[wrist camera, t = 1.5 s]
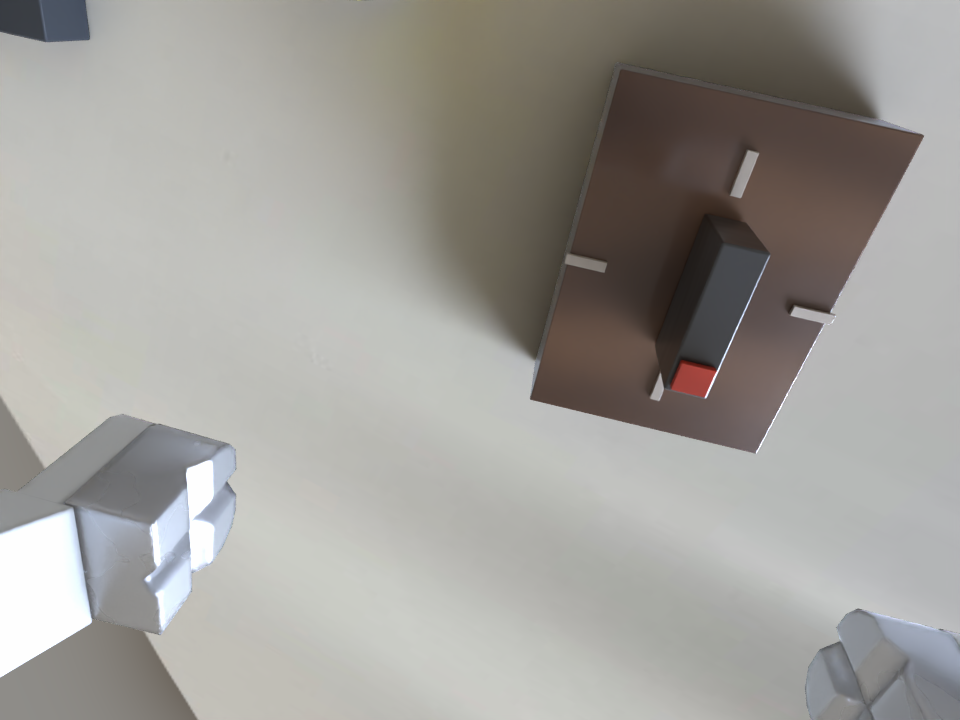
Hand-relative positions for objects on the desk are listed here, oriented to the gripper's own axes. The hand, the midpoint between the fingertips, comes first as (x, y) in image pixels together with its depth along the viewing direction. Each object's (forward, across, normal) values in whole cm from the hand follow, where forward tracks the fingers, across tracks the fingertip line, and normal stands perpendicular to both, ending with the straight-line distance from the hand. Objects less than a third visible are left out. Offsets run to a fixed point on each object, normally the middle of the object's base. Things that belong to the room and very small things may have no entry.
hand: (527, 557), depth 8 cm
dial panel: (+18, -5, 0) cm, 18 cm away
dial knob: (+15, -5, +1) cm, 15 cm away
